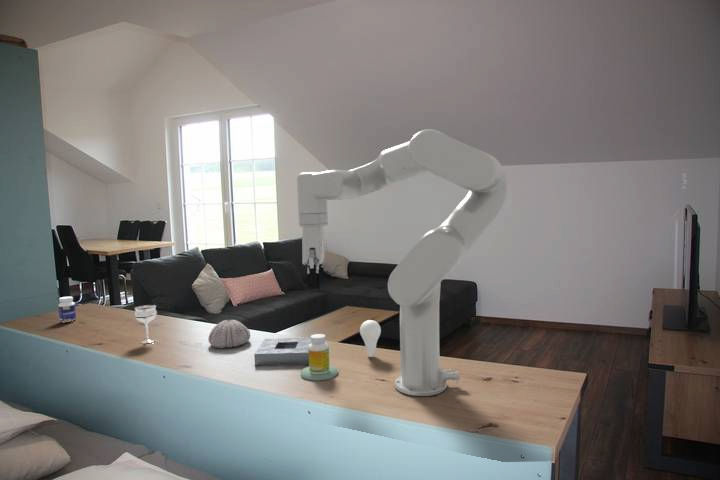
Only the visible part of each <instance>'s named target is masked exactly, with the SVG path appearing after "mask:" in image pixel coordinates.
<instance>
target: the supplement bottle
mask: <svg viewBox="0 0 720 480" xmlns="http://www.w3.org/2000/svg"><path fill="white" fill-rule="evenodd" d="M309 338H310V340H311V342H312V343H311V344H310V345H309V347H308V351H309V365H308V367H309V370H310V373H312V374H325V373H327V372H329V370H330V367H329V365H330V350H329V344H328V343H327V341H326V339H327V338H326V334H323V333H316V334H315V333H314V334H311V335H310V337H309Z"/></svg>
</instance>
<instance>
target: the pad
mask: <svg viewBox="0 0 720 480" xmlns="http://www.w3.org/2000/svg"><path fill="white" fill-rule="evenodd" d="M329 367H330V370H329V372H327V373H325V374H312V373H310V370H309V366H307V367H304V368H302V370H300V377H301V378H302V379H304V380H306V381H310V382H313V381H314V382H322V381H327V380H332V379H333V378H335V377H336V376H338V373H339V370H338V368H337V367H336V366H334V365H331V364H329Z"/></svg>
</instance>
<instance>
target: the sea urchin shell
mask: <svg viewBox="0 0 720 480" xmlns="http://www.w3.org/2000/svg"><path fill="white" fill-rule="evenodd" d="M250 339H251V332H250V329H249V328H248V327H247V326H245V324H243V322H241V321H239V320H237V319H224V320H222V321H220V322H218V323H217V324H216V325H215V326H214V327H213V328H211V331H210V332H209V335H208V339H207V340H208V343H209V345H211V347H214V348H218V349H220V348H221V349H225V348H228V349H229V348H232V347H233V348H234V347H235V348H236V347H238V346H242V345H245V343H248V342H249V341H250Z"/></svg>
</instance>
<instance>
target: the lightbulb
mask: <svg viewBox="0 0 720 480" xmlns="http://www.w3.org/2000/svg"><path fill="white" fill-rule="evenodd" d="M381 332H382V329H381V326H380V324H379V323H378V322H377V321H375V320H372V319H368V320H366V321H364V322H362V323H361V325H360V327H359V334H360V336H361V338H362V340H363V342H364V345H365V350H366V356H367V357H369V358H373V357H375V355H376V349H377V345H378V344H377V343H378V340H379V338H380V336H381V334H382V333H381Z"/></svg>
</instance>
